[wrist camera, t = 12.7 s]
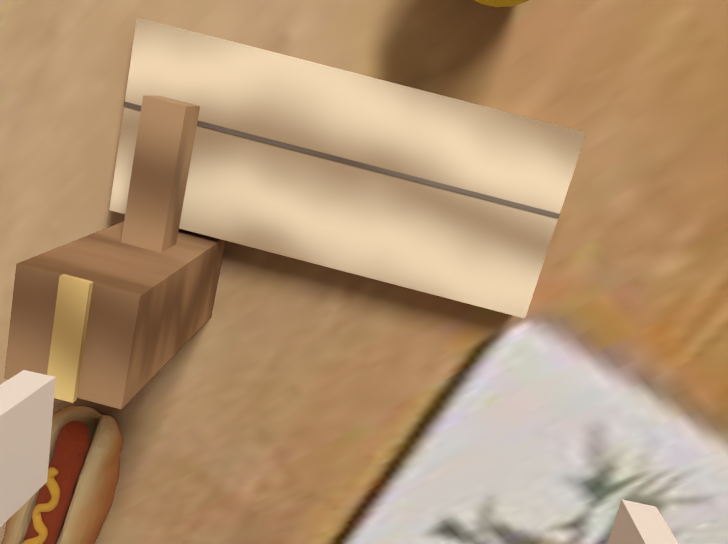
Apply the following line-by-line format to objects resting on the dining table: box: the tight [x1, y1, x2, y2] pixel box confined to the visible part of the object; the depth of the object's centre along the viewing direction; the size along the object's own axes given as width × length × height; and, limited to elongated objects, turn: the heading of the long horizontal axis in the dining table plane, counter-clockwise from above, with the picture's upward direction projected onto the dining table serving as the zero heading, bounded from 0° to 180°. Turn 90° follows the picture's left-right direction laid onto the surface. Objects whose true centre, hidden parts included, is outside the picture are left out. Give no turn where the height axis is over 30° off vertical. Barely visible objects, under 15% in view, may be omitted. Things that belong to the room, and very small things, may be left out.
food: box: [2, 406, 123, 544], centre depth 40 cm, size 14×6×5 cm, turn 156°
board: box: [109, 17, 587, 318], centre depth 34 cm, size 10×23×2 cm, turn 76°
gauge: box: [4, 95, 226, 409], centre depth 31 cm, size 12×5×12 cm, turn 166°
